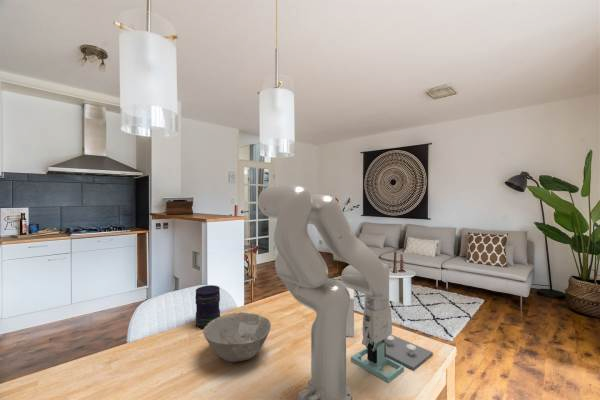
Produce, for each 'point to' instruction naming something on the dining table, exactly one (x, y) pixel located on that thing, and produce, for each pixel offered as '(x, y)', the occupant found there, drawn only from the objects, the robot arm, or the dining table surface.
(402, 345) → the board
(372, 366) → the teal frame with block
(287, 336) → the dining table surface
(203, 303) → the storage jar
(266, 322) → the ceramic bowl
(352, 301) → the milk carton
